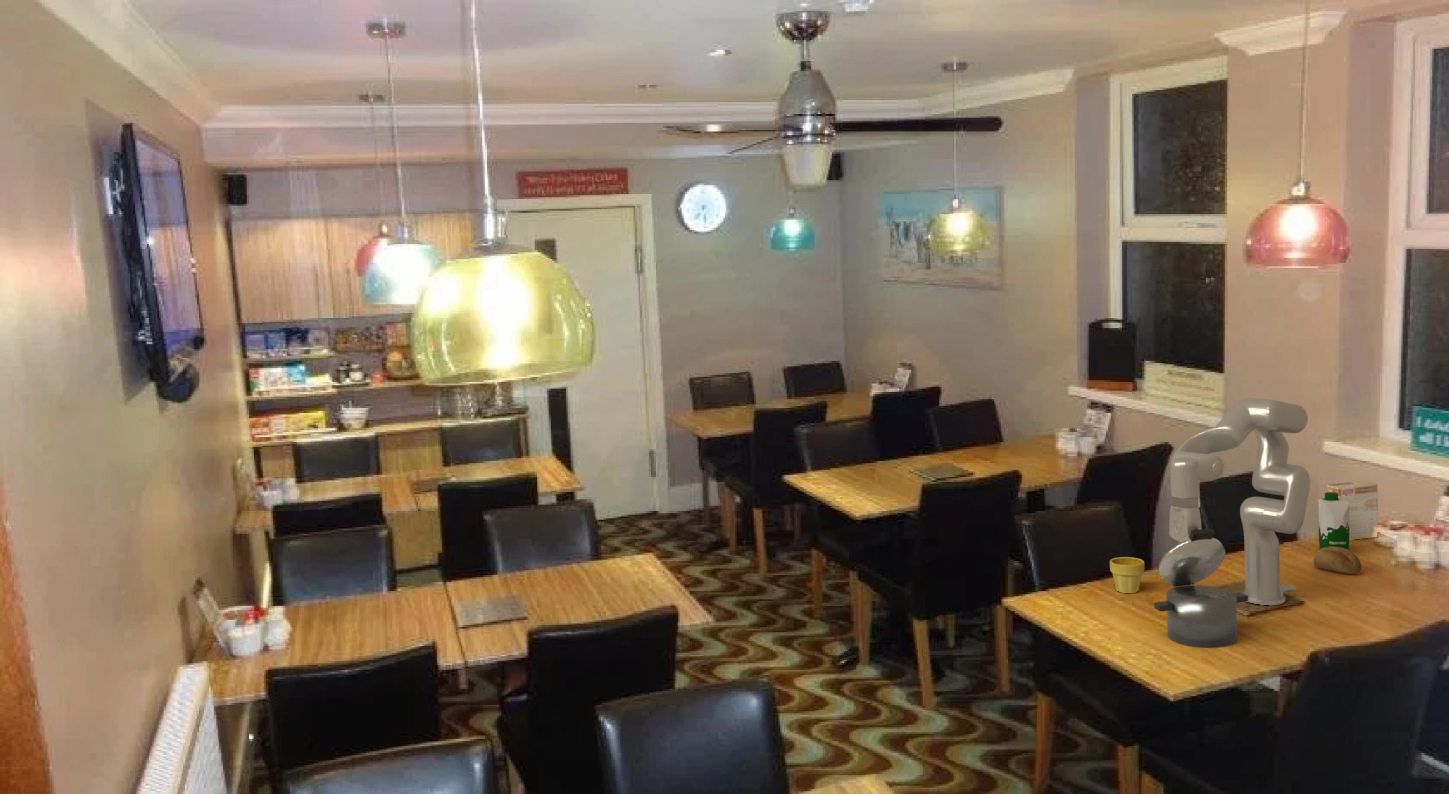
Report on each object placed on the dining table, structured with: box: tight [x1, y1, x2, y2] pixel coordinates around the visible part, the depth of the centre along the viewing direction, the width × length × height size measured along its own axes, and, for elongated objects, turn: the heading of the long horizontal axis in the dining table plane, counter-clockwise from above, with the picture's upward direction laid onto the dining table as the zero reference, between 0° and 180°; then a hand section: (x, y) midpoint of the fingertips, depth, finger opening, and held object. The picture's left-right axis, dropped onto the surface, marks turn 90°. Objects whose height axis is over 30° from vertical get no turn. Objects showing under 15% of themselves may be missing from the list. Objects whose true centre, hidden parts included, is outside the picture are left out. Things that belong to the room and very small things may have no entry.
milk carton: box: [1317, 492, 1350, 551], centre depth 384 cm, size 9×9×20 cm
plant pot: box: [1109, 556, 1145, 594], centre depth 360 cm, size 10×10×10 cm
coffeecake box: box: [1326, 479, 1379, 541], centre depth 400 cm, size 15×7×20 cm, turn 97°
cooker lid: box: [1158, 528, 1226, 588], centre depth 318 cm, size 19×22×3 cm
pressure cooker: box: [1153, 584, 1248, 649], centre depth 316 cm, size 26×19×12 cm
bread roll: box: [1312, 547, 1362, 575], centre depth 364 cm, size 10×15×8 cm, turn 31°
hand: (1187, 564), depth 321 cm, fingers closed
